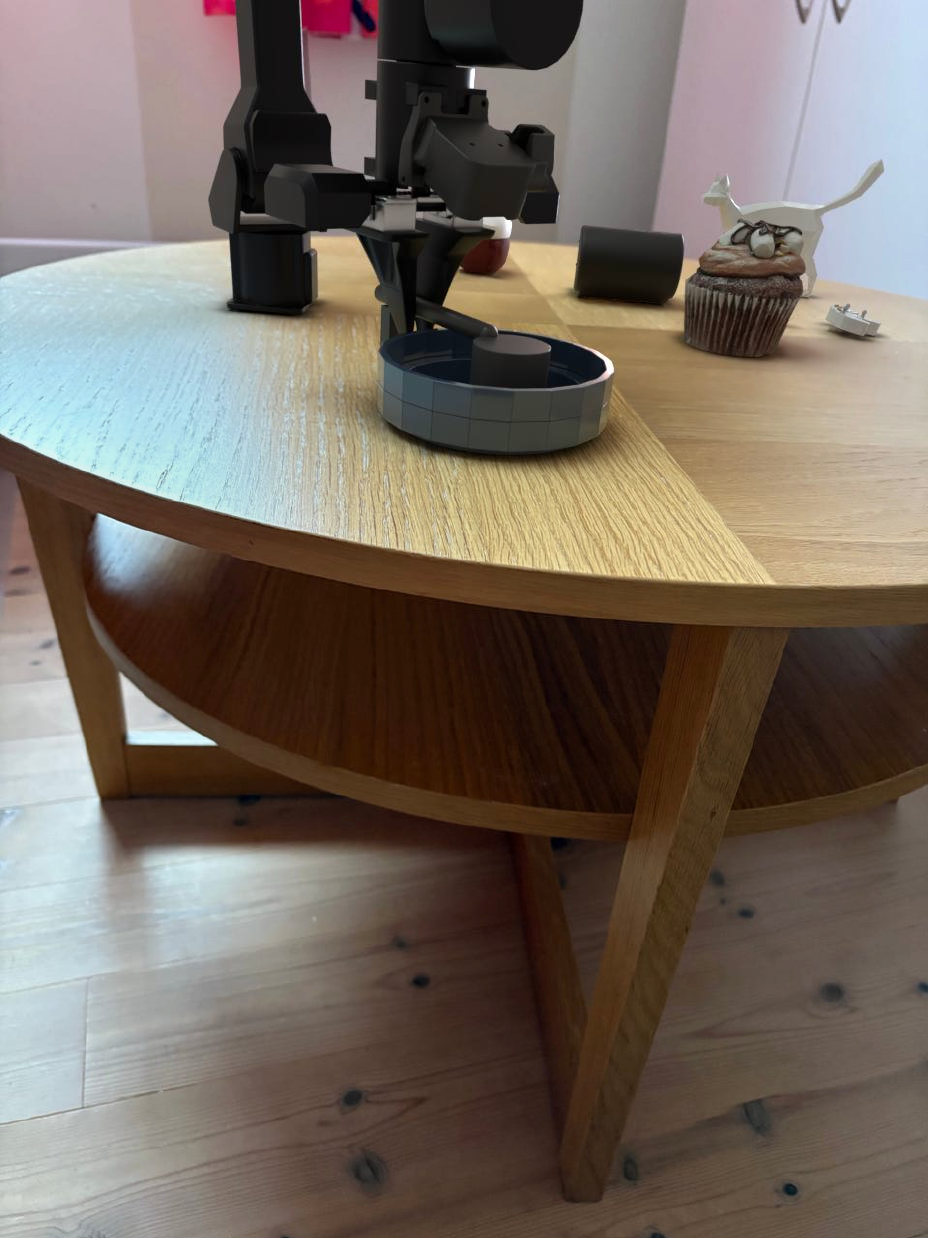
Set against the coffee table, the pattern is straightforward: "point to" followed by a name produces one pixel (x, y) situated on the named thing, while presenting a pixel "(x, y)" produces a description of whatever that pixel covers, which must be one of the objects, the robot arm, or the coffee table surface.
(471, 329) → the ladle
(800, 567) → the coffee table surface
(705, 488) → the coffee table surface
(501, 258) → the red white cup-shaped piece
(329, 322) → the coffee table surface
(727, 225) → the cat figurine
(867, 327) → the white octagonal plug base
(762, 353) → the cupcake
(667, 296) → the end cap
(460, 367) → the bowl
